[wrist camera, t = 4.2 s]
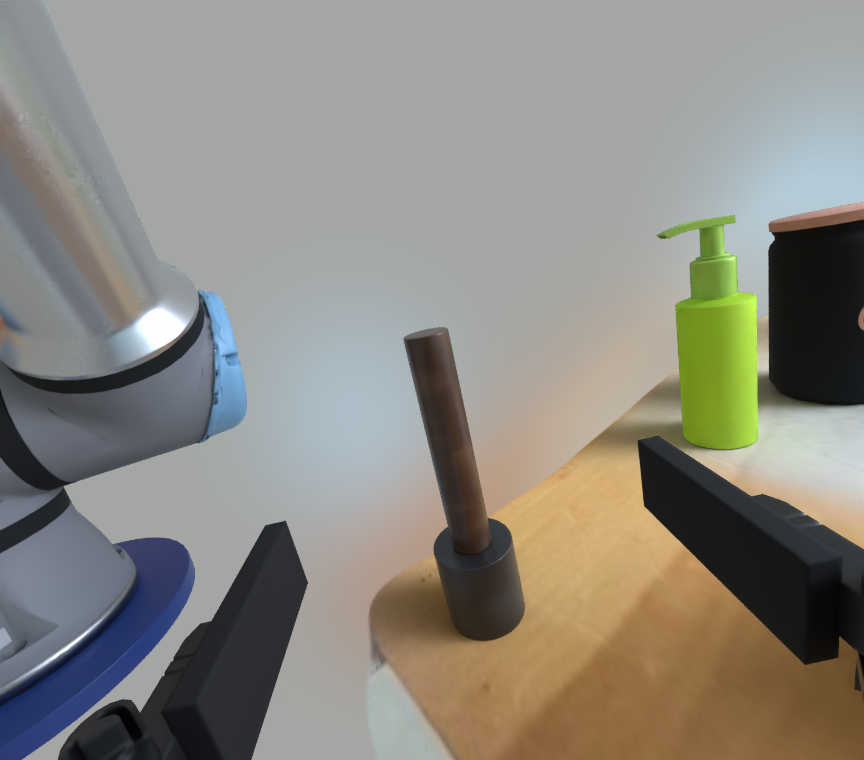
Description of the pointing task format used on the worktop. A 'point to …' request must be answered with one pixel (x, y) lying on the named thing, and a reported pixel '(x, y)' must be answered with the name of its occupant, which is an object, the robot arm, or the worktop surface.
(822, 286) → the coffee jar
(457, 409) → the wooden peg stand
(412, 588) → the worktop surface
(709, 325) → the soap dispenser
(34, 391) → the robot arm
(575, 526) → the worktop surface
